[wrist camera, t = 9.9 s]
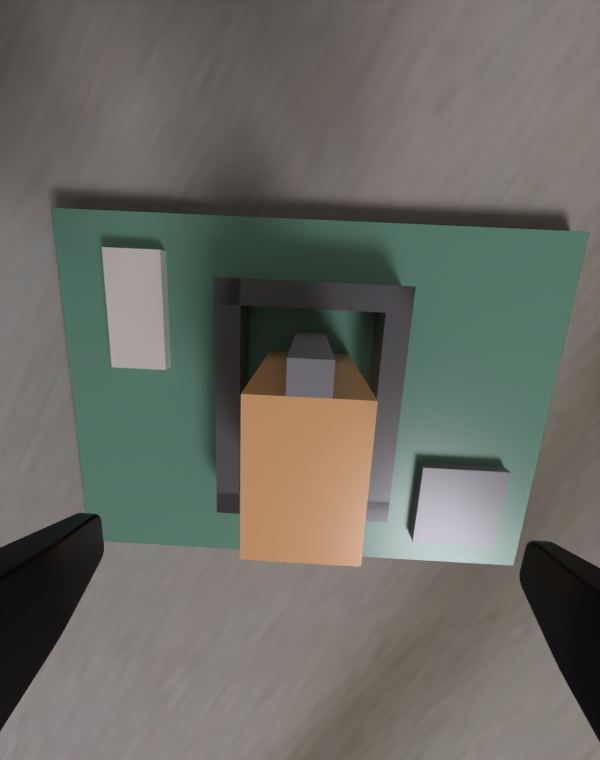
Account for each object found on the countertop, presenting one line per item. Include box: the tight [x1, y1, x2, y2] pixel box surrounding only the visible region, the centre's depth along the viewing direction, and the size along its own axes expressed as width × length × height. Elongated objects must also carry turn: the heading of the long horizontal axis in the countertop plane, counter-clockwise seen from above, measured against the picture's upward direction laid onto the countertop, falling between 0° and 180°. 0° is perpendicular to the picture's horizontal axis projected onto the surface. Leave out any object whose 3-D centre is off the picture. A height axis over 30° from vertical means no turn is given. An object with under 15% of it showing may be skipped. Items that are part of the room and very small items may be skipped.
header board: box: [52, 208, 589, 566], centre depth 16 cm, size 22×16×3 cm
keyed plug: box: [240, 329, 378, 567], centre depth 13 cm, size 4×6×7 cm, turn 177°
